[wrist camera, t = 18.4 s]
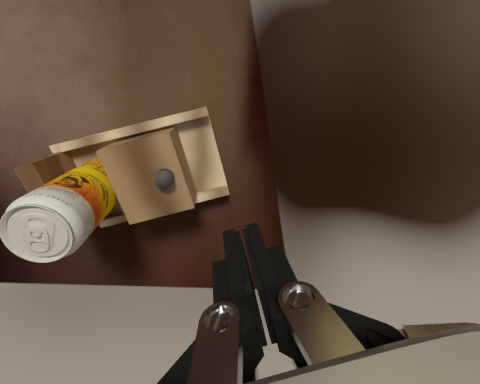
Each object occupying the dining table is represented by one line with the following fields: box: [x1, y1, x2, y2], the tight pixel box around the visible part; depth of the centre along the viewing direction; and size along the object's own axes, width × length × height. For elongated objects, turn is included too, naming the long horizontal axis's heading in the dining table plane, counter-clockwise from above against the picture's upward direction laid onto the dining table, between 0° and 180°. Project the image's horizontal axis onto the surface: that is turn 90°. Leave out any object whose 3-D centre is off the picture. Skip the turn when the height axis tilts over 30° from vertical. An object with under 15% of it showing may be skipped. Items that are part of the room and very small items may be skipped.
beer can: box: [0, 158, 118, 263], centre depth 27 cm, size 6×6×15 cm
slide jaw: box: [96, 126, 197, 225], centre depth 30 cm, size 8×9×7 cm
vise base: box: [13, 107, 230, 228], centre depth 31 cm, size 20×12×8 cm, turn 103°
